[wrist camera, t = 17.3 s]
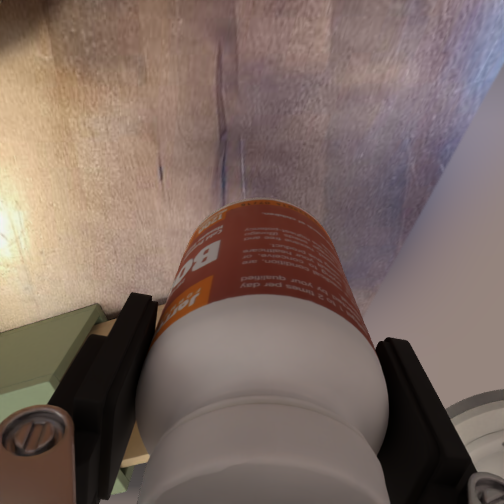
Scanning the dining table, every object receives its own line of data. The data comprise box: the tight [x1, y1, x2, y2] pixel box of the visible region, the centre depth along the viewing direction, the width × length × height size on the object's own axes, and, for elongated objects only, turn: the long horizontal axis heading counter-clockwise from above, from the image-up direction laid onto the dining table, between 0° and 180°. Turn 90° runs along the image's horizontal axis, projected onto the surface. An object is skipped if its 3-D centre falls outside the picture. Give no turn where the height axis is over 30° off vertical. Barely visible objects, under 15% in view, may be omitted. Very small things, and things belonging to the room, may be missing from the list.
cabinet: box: [0, 304, 135, 495], centre depth 35 cm, size 14×12×10 cm
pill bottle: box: [135, 198, 390, 504], centre depth 12 cm, size 6×6×11 cm
